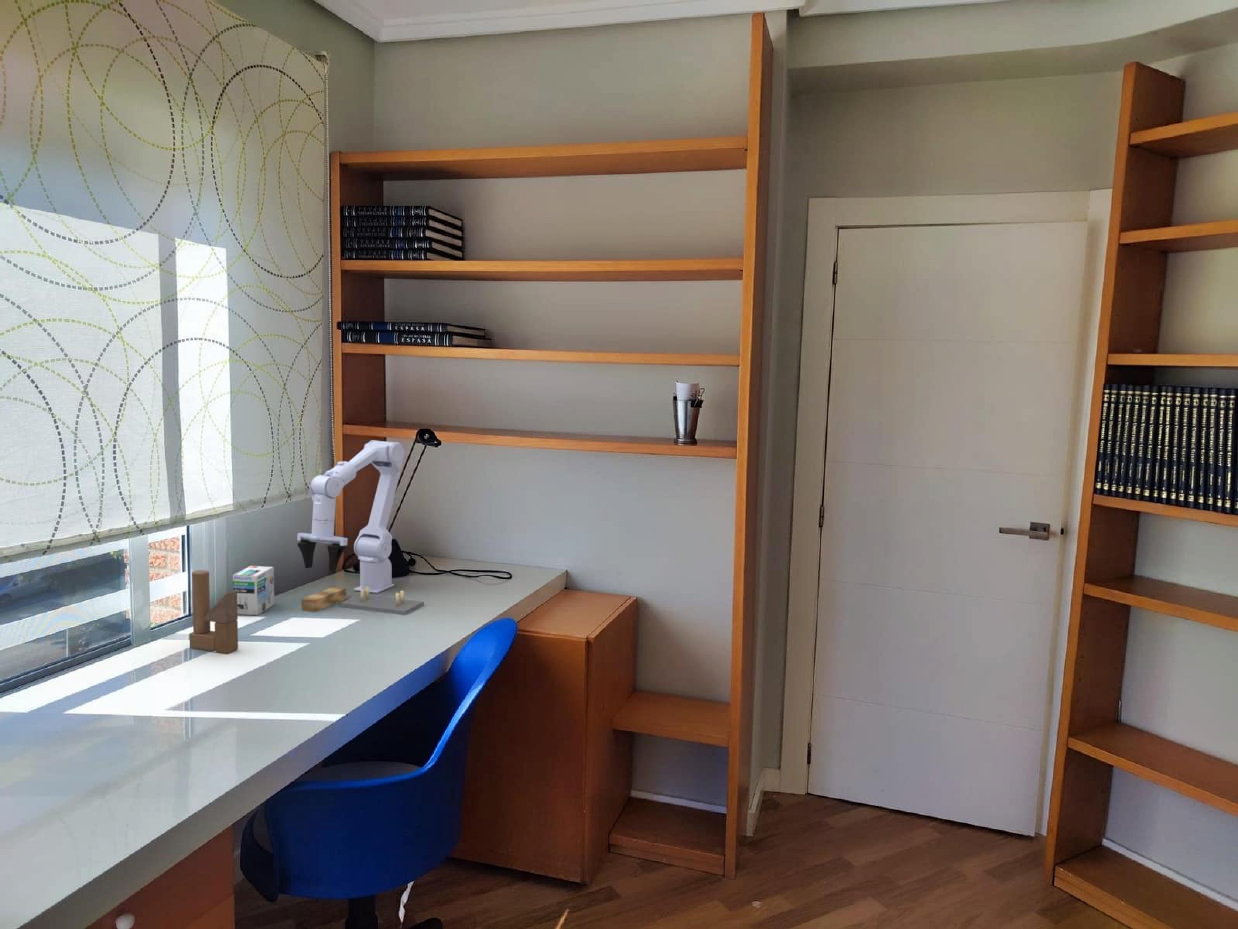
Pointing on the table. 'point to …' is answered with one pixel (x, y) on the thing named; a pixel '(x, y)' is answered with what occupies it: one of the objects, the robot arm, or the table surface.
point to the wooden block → (213, 617)
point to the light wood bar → (323, 599)
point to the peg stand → (382, 603)
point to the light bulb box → (254, 589)
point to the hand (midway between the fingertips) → (320, 569)
